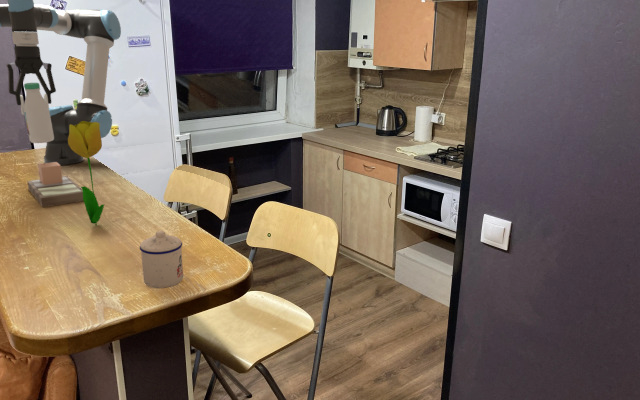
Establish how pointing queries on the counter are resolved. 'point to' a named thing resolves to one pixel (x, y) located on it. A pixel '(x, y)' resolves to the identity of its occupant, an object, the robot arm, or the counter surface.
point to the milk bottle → (37, 115)
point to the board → (56, 192)
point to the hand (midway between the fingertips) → (35, 113)
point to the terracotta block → (50, 173)
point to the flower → (86, 145)
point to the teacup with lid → (162, 260)
